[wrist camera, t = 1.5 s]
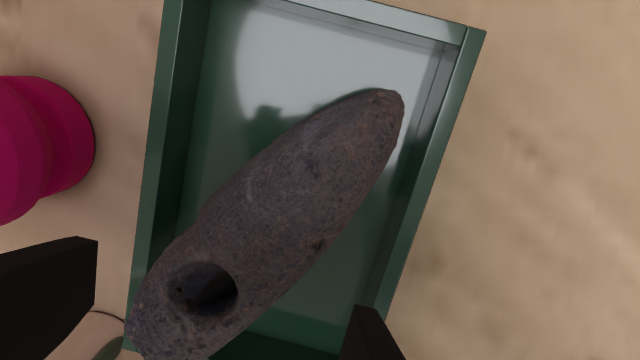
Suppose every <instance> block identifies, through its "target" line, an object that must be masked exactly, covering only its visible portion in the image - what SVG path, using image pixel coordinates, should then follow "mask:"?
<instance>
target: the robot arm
mask: <svg viewBox="0 0 640 360" xmlns="http://www.w3.org/2000/svg"><path fill="white" fill-rule="evenodd" d="M97 251H98V241H95V240H91V239H87V238H83V237H79V236H73V237H67V238H63V239H58V240H54V241H49V242H45V243H41V244H37V245H33V246H30V247H26V248H22V249H18V250H14V251H10V252H6V253H3V254H0V360H44V359H45V358H46V357H47V356H49V355H50V354H51V353H52V352H53V351H54V350H55V349H56V348H57V347H58V346H59V345H60V344H61V343H62V342H63V341H64V340H65V339H66V338H67V337H68V336H69V335H70V333H71V332H72V331H73V330H74V329H75V328H76V326H77V325H78V324H79V323H80V322H81V320H82V319H83V318H84V317H85V315H86V314H87V313H88V311H89V310H90V309H91V308H92V306H93V305H94V299H95V283H96V267H97ZM338 360H406V359H405V357H404V356H403V354H402V352H401V351H400V349H399V347H398V346H397V344H396V342H395V340H394V339H393V337H392V335H391V333H390V332H389V330H388V328H387V326H386V325H385V323H384V321H383V319H382V318H381V316H380V314H379V312H378V311H377V309H374V308H370V307H366V306H362V305H358V304H354V308H353V311H352V314H351V318H350V321H349V324H348V327H347V331H346V334H345V337H344V341H343V344H342V347H341V350H340V354H339V357H338Z"/></svg>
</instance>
